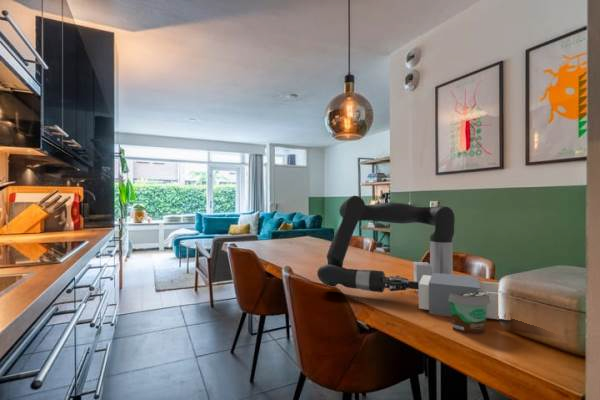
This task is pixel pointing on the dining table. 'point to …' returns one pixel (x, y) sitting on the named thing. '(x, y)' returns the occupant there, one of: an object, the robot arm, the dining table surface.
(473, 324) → the food container
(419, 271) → the small box
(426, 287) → the white cuboid
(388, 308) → the dining table surface
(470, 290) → the sleeve
